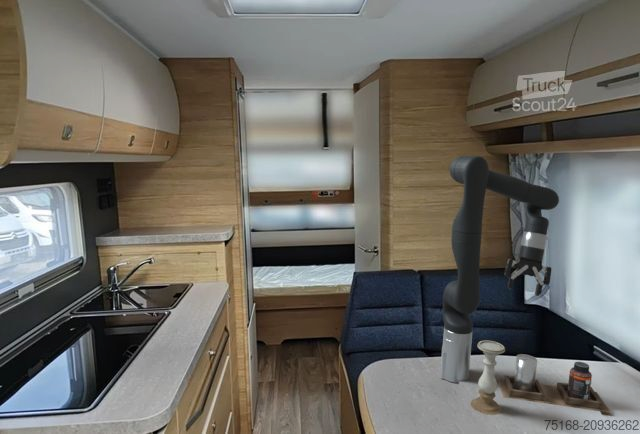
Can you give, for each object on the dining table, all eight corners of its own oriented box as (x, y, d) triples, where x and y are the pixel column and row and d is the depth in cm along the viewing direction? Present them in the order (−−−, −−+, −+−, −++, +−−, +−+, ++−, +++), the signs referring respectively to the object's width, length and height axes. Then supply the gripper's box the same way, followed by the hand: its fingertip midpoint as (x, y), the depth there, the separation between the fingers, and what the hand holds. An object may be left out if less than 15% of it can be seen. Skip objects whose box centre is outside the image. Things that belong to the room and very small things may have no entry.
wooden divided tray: (503, 400, 138) (503, 391, 138) (497, 381, 150) (498, 372, 149) (610, 415, 131) (611, 406, 131) (595, 394, 143) (597, 386, 142)
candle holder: (507, 412, 132) (513, 347, 129) (489, 421, 127) (495, 354, 124) (481, 398, 139) (487, 336, 136) (464, 406, 134) (469, 343, 131)
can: (515, 394, 140) (518, 361, 138) (511, 384, 146) (514, 353, 144) (535, 396, 139) (539, 363, 137) (531, 387, 144) (534, 355, 143)
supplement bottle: (592, 404, 135) (596, 369, 133) (570, 402, 136) (574, 367, 135) (584, 394, 141) (588, 361, 139) (564, 392, 142) (568, 358, 140)
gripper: (513, 242, 149) (504, 289, 149) (558, 251, 147) (549, 299, 147) (508, 242, 157) (499, 286, 157) (551, 250, 154) (542, 295, 154)
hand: (523, 292), depth 152 cm, fingers open, 8 cm apart
